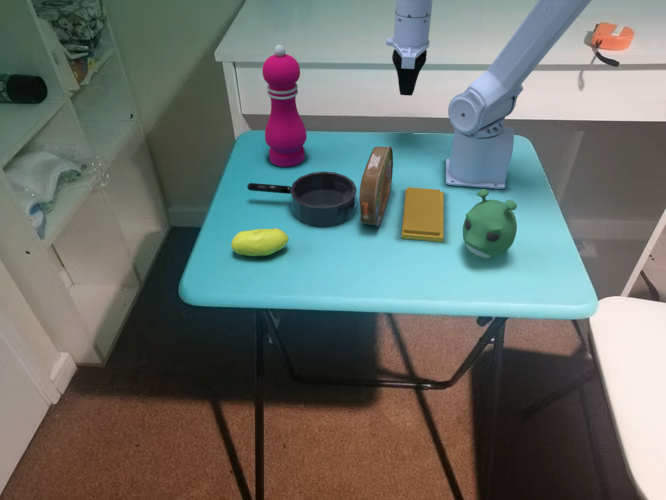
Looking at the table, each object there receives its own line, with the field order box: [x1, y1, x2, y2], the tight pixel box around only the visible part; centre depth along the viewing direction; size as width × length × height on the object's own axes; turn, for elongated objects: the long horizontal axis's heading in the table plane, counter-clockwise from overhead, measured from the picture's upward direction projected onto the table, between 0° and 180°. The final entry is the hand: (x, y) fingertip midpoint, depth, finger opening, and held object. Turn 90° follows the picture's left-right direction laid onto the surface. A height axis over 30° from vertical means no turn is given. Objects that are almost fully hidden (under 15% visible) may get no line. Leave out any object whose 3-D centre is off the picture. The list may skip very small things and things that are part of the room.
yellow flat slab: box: [401, 186, 445, 243], centre depth 82 cm, size 6×12×1 cm, turn 171°
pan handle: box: [246, 182, 292, 195], centre depth 84 cm, size 7×1×1 cm, turn 81°
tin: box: [358, 146, 394, 227], centre depth 82 cm, size 15×3×8 cm, turn 166°
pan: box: [290, 171, 358, 228], centre depth 83 cm, size 10×10×4 cm
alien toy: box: [462, 188, 518, 260], centre depth 72 cm, size 7×8×10 cm
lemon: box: [230, 228, 290, 257], centre depth 75 cm, size 4×8×4 cm, turn 95°
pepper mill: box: [261, 44, 308, 168], centre depth 90 cm, size 7×7×20 cm
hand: (406, 93), depth 95 cm, fingers closed
